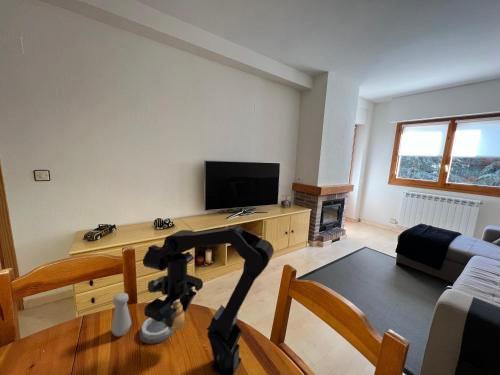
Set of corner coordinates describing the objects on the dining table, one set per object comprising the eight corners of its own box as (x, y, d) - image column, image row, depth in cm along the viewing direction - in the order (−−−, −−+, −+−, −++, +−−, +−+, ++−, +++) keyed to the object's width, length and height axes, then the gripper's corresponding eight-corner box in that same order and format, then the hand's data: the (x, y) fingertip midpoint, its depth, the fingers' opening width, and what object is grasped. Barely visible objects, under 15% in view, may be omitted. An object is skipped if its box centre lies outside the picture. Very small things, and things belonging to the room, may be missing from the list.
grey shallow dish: (181, 325, 75) (182, 319, 75) (156, 349, 65) (156, 342, 65) (158, 315, 79) (159, 308, 79) (132, 335, 69) (131, 328, 69)
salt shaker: (135, 326, 73) (135, 291, 72) (123, 340, 68) (123, 302, 66) (119, 324, 74) (118, 289, 73) (106, 337, 68) (105, 299, 67)
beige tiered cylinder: (187, 322, 67) (188, 302, 66) (176, 333, 63) (176, 311, 62) (175, 317, 69) (176, 297, 68) (164, 327, 64) (164, 306, 64)
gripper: (178, 255, 76) (177, 296, 77) (130, 280, 59) (130, 332, 60) (204, 263, 71) (202, 306, 73) (160, 292, 54) (159, 348, 56)
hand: (176, 321), depth 66 cm, fingers closed on beige tiered cylinder, 5 cm apart
